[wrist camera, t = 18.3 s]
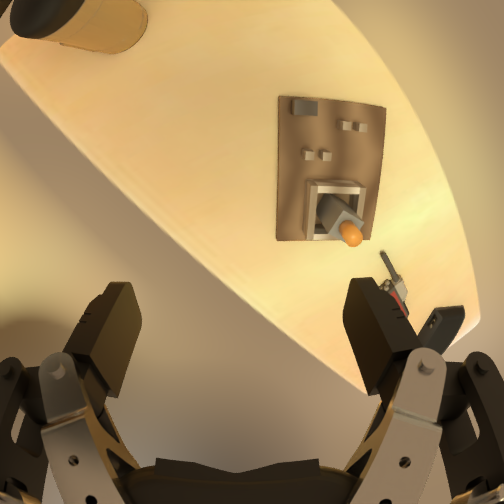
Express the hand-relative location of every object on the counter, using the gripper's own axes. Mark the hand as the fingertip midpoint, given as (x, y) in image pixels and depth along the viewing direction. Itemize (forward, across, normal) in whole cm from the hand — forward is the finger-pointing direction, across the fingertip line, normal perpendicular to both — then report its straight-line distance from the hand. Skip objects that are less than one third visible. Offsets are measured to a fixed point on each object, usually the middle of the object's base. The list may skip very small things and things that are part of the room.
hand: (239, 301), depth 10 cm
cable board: (+32, -13, +3) cm, 35 cm away
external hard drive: (+33, -50, +43) cm, 74 cm away
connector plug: (+31, -13, +8) cm, 34 cm away
